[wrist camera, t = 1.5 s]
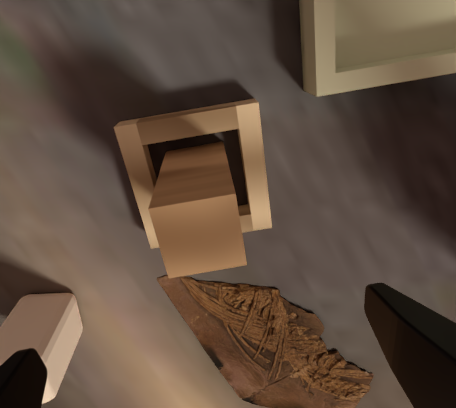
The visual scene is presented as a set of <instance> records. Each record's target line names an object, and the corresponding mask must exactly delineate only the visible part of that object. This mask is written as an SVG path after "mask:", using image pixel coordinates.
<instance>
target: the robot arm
mask: <svg viewBox="0 0 456 408" xmlns="http://www.w3.org/2000/svg"><path fill="white" fill-rule="evenodd" d="M364 309H365V314H366V316H367V318H368V321H369V323H370V325H371V327H372V329H373V331H374V334H375V336H376V338H377V340H378V342H379V344H380V346H381V349H382V351H383V353H384V355H385V357H386V359H387V361H388V363H389V366H390V368H391V369H392V371H393V373H394V375H395V377H396V378H397V380H398V382H399V383H400V385H401V387H402V388H403V390H404V392H405V393H406V395H407V397H408V399H409V400H410V402H411V404H412V405H413V407H414V408H456V323H455V322H453V321H451V320H449V319H447V318H445V317H444V316H442V315H440V314H438V313H436V312H435V311H433V310H431V309H429V308H427V307H426V306H424V305H422V304H420V303H418V302H416V301H415V300H413V299H411V298H409V297H407V296H406V295H404V294H402V293H400V292H398V291H397V290H395V289H393V288H391V287H389V286H388V285H386V284H384V283H375V284H369V285H367V286H366V289H365V303H364ZM47 374H48V373H47V368H46V366H45V364H44V362H43V361H42V359H41V357H40V355H39V354H38V352H37V351H36V349H34V348H28V349H23V350H19V351H16V352H15V353H14V354H12V355H11V356H10V357H9V358H8V359H7V360H6V361H5V362H4V363H3V364H2V365H0V408H41V405H42V400H43V395H44V391H45V386H46V381H47Z"/></svg>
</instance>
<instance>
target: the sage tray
mask: <svg viewBox="0 0 456 408" xmlns="http://www.w3.org/2000/svg"><path fill="white" fill-rule="evenodd" d="M299 12H300V32H301V53H302V73H303V91H305V92H307V93H309V94H312V95H314V96H316V97H318V96H324V95H330V94H336V93H342V92H347V91H353V90H359V89H365V88H371V87H376V86H382V85H388V84H394V83H400V82H405V81H411V80H417V79H423V78H429V77H434V76H440V75H446V74H452V73H456V0H299Z"/></svg>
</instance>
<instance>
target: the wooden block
mask: <svg viewBox="0 0 456 408" xmlns="http://www.w3.org/2000/svg"><path fill="white" fill-rule="evenodd" d="M148 210H149V213H150V217H151V220H152V223H153V227H154V230H155V234H156V237H157V240H158V244H159V247H160V251H161V254H162V257H163V261H164V264H165V267H166V271H167V274H168V278H175V277H180V276H186V275H192V274H197V273H203V272H209V271H215V270H220V269H226V268H232V267H238V266H243V265H247V262H246V255H245V249H244V243H243V236H242V230H241V224H240V217H239V211H238V205H237V198H236V193H235V189H234V184H233V180H232V176H231V172H230V168H229V164H228V160H227V156H226V152H225V148H224V144H223V142H217V143H211V144H205V145H199V146H194V147H188V148H182V149H176V150H171V151H166V153H165V156H164V159H163V163H162V166H161V169H160V172H159V176H158V179H157V182H156V185H155V188H154V192H153V195H152V198H151V201H150V205H149V208H148Z"/></svg>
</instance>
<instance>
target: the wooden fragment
mask: <svg viewBox="0 0 456 408" xmlns="http://www.w3.org/2000/svg"><path fill="white" fill-rule="evenodd" d="M157 281H158V282H159V284H160V285H161V287H162V288H163V289H164V291H165V292H166V294H167V295H168V297H169V298H170V299H171V301H172V303H173V304H174V306H175V307H176V309H177V310H178V311H179V313H180V314H181V315H182V317H183V318H184V320H185V321H186V323H187V324H188V325H189V327H190V328H191V330H192V331H193V332H194V334H195V335H196V337H197V338H198V340H199V341H200V343H201V345H202V346H203V348H204V349H205V351H206V352H207V354H208V355H209V356H210V358H211V359H212V361H213V362H214V363H215V365H216V367H217V368H218V370H219V371H220V372H221V373H222V375H223V376H224V377H225V378H226V380H227V381H228V383H229V384H230V385H231V386H233V388H234V391H235V392H236V393H237V395H238V396H239V397H240V398H242V400H243V401H246V402H250V403H252V404H255V405H259V406H265V407H269V408H355V407H356V406H357V404H358V403H359V401H360V399H361V397H363V396H364V395H365V394H366V393H367V392H369V390H370V385H369V384H370V382H371V380H372V379H373V374H372V373H367V371H361V370H360V369H359V368H358V367H357V366H356V365H355V366H354V365H353V364H350V363H347V362H346V361H345V360H344V358H343V357H342V356H340V354H339V352H338V351H337V350H336V351H327V348H326V345H325V343H324V342H323V340H322V338H320V335H321V334H322V333H323V331H324V326H323V324H322V322H321V321H320V320H319V319H318V318H317V316H316V315H315V314H311V313H307V312H306V311H304V310H303V309H301V308H297V307H295V306H293V305H291V304H289V302H288V301H286V300H285V299H283V298H282V297H281V296H280V291H279V290H278V289H275V288H269V287H266V286H252V285H249V284H237V285H232V284H230V283H215V282H206V281H195V280H194V279H193V278H192V277H186V276H180V277H175V278H168V275H165V276H163V277H158V278H157Z"/></svg>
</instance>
